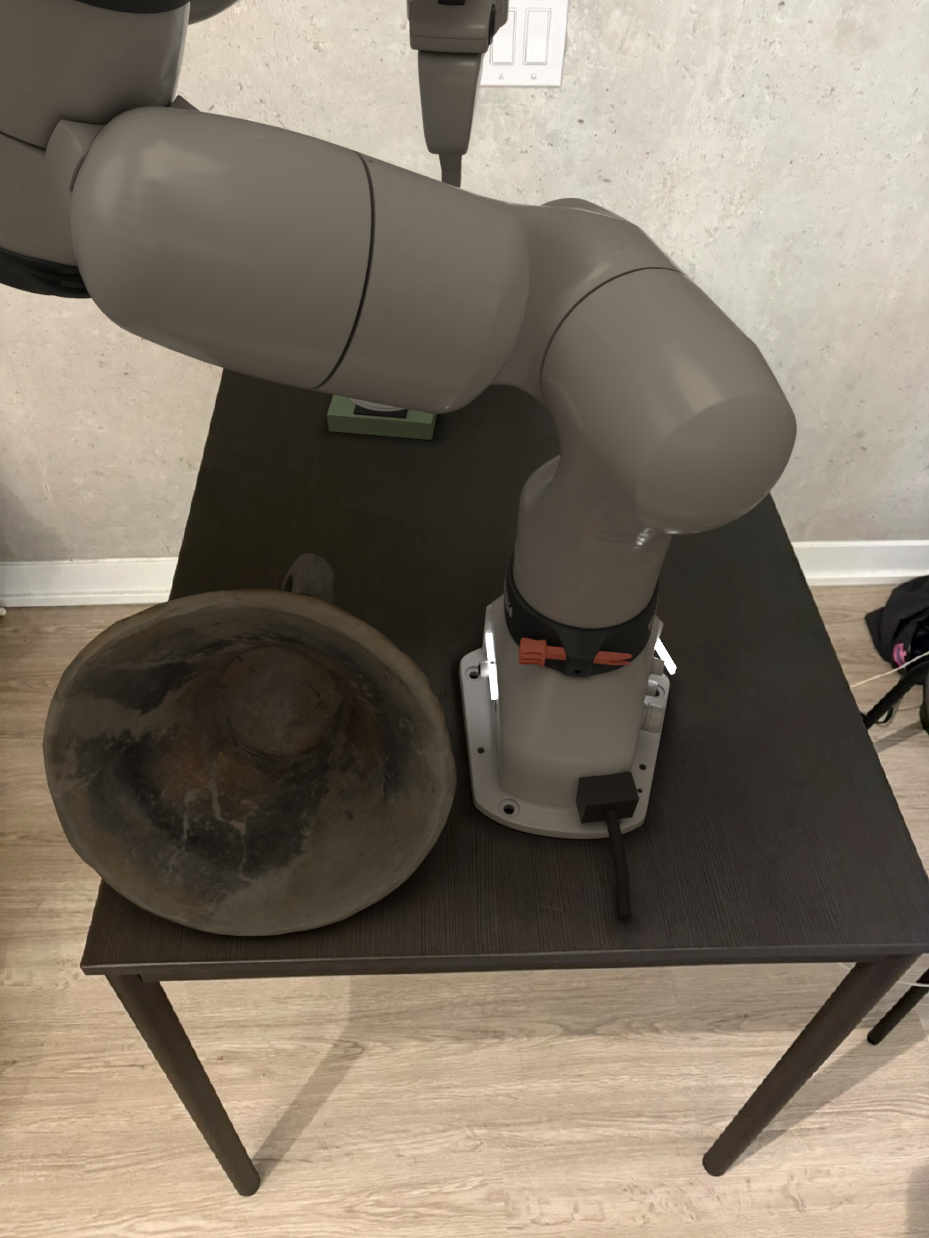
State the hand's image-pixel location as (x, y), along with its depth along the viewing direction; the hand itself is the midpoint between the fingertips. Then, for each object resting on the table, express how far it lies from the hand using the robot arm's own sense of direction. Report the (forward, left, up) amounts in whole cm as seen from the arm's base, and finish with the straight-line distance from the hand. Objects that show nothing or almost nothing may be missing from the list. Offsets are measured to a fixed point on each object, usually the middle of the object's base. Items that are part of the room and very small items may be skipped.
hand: (456, 164), depth 84 cm
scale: (-3, +7, -27) cm, 28 cm away
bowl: (-48, +9, -22) cm, 54 cm away
